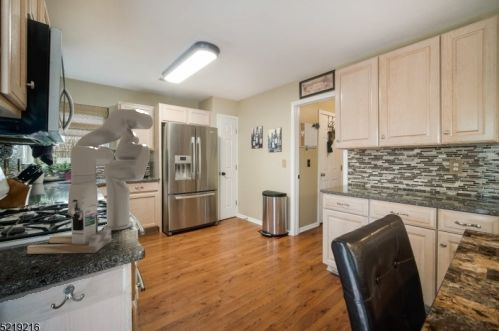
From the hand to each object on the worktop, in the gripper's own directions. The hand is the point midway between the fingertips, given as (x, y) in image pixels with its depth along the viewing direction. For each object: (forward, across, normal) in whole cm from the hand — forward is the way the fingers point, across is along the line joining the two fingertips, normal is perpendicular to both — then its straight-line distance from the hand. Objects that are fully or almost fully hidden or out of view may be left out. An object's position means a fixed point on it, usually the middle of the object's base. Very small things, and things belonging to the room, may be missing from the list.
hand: (84, 226), depth 84 cm
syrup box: (+7, 0, 0) cm, 7 cm away
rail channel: (+8, 0, -5) cm, 9 cm away
